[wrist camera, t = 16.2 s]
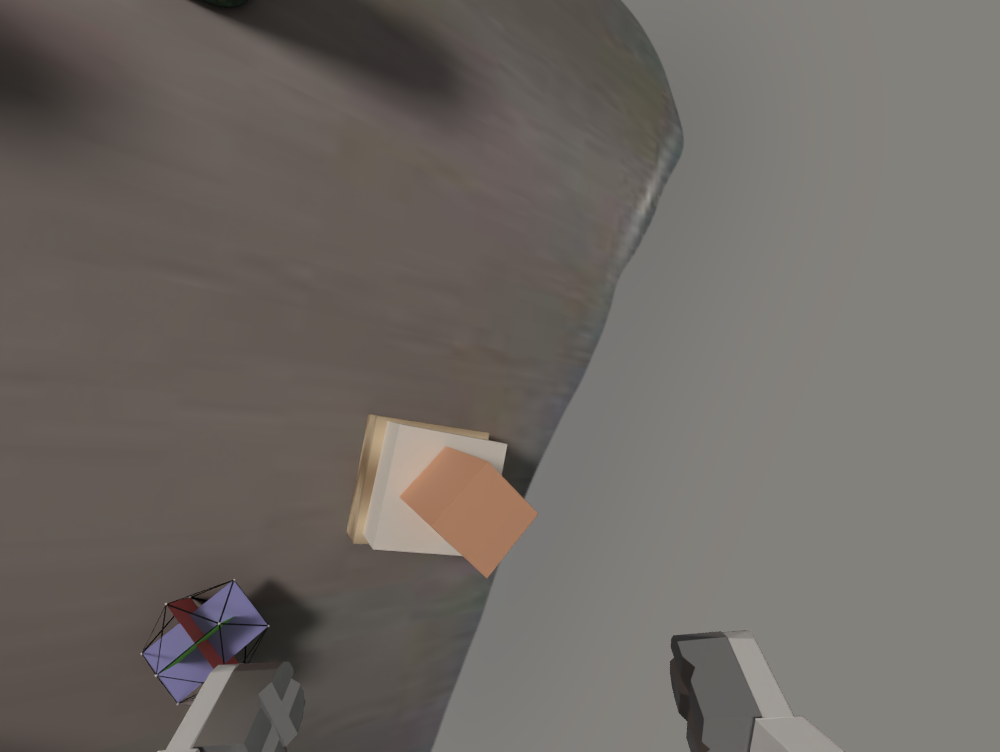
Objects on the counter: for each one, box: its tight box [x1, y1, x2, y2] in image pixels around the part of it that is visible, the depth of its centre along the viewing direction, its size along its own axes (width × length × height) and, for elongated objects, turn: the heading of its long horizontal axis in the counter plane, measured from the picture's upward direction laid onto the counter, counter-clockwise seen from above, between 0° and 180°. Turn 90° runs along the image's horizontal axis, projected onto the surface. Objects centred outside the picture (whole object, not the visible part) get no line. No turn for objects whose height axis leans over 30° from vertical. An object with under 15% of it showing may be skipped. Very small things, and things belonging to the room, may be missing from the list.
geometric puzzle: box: [141, 579, 270, 705], centre depth 33 cm, size 7×7×8 cm
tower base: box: [347, 414, 489, 544], centre depth 42 cm, size 10×10×4 cm
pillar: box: [399, 446, 538, 578], centre depth 33 cm, size 5×5×8 cm
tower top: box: [363, 421, 507, 556], centre depth 39 cm, size 9×9×4 cm
